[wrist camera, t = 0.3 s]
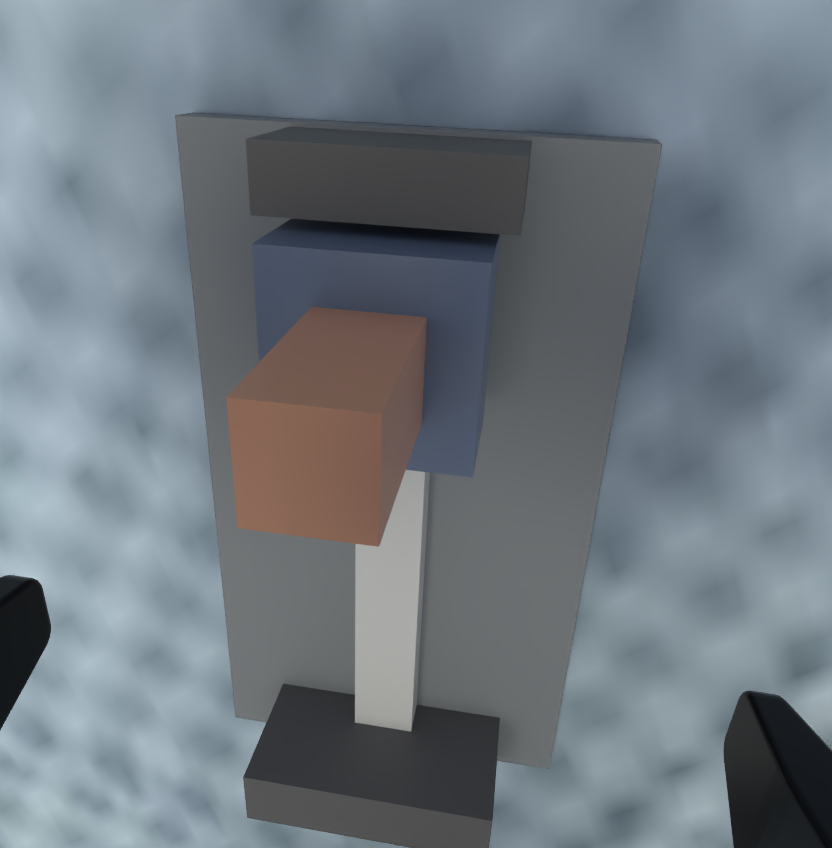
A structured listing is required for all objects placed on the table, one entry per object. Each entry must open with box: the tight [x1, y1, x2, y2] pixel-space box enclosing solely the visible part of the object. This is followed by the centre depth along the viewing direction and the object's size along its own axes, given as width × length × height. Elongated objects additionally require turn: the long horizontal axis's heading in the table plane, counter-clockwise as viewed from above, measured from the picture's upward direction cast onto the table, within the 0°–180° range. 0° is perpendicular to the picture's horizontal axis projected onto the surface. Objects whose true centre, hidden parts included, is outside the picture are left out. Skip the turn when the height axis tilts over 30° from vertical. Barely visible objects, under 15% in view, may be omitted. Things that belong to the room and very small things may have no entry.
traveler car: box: [226, 219, 500, 547], centre depth 15 cm, size 5×5×8 cm
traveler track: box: [175, 113, 662, 848], centre depth 21 cm, size 22×12×5 cm, turn 177°
